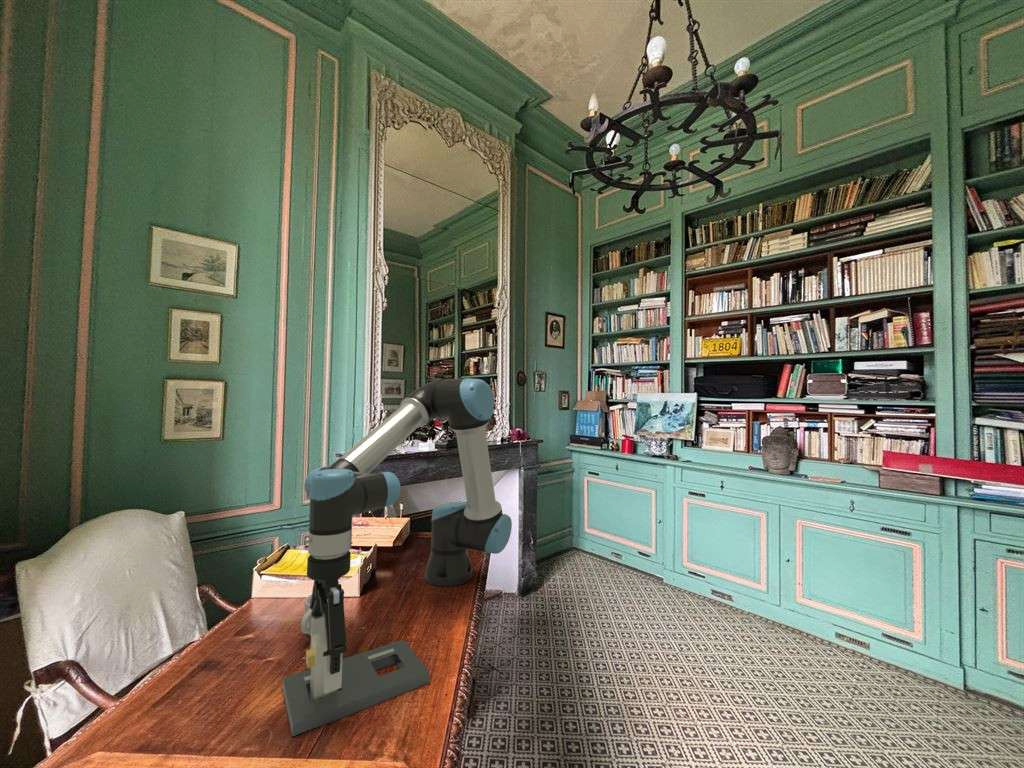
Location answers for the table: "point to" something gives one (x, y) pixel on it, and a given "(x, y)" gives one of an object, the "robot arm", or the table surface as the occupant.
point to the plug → (317, 666)
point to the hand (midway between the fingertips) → (324, 668)
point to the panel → (354, 686)
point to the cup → (307, 617)
